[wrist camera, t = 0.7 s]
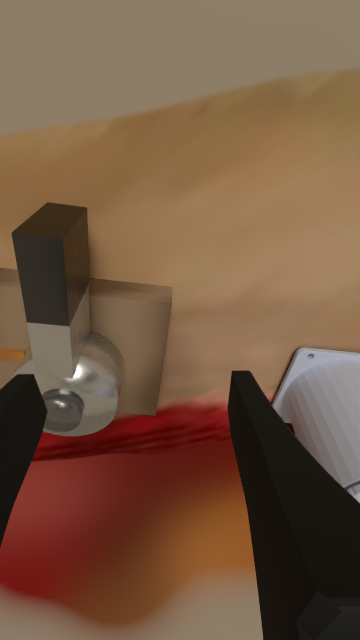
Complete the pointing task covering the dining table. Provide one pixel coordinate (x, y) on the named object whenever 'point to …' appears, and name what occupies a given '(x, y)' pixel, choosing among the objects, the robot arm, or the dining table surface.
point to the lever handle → (64, 323)
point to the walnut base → (102, 333)
